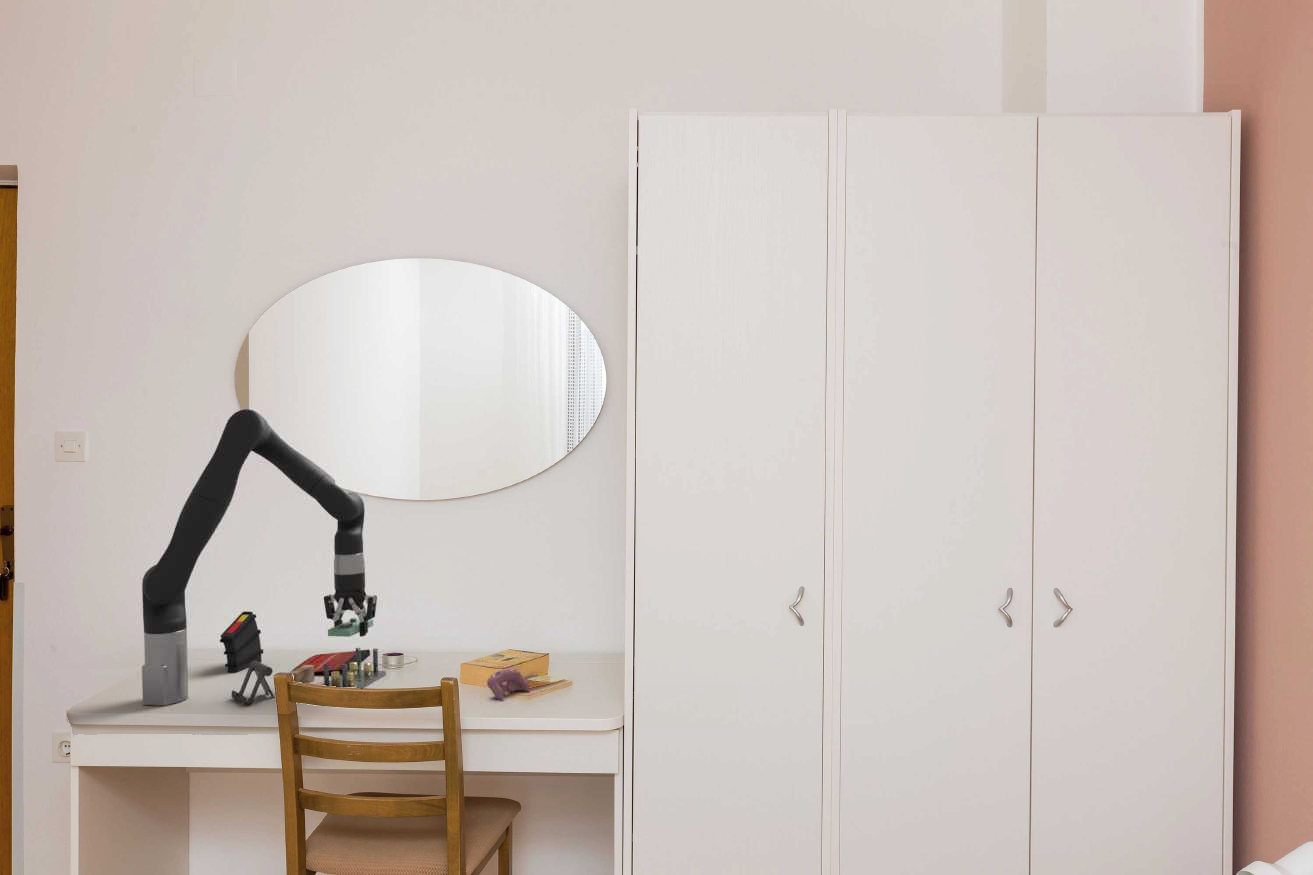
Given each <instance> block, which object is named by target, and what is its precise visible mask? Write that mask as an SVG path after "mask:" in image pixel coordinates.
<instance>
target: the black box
mask: <svg viewBox="0 0 1313 875" xmlns="http://www.w3.org/2000/svg"><path fill="white" fill-rule="evenodd" d="M256 618H257V614H254V613H253V611H246V610H245V611H242V612H241V613H240V614H239V615H238V616H237V617H236V618H235V619H234V621H232V622H231V624H229V626H228V627H227V628H226V629H225V630H224V631H223V632H222V633H221V634H220V639H219V642H220V643H223V646H224V649H225V651H223V655H226V662H227V663H225V665H224V667H225V668H227V672H228V673H239V672H240V671H243V670H246V669H249V667H250V664H251V663H252V662H253V661H257V662H259V663H261V664H262V654H264V649H262V645H261V638H260V637H261V636H260V634H261V633H262V632H261V629H259V628H258V625H257V624H258V623H257V621H256Z"/></svg>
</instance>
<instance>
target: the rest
mask: <svg viewBox="0 0 1313 875" xmlns="http://www.w3.org/2000/svg"><path fill="white" fill-rule="evenodd" d="M288 673H291V674H293V675H294V681H295V682H302V683H308V684H310V683H312V682H314V681H315V676H314V665H304V666H302V667H300V668H298V669H296V670H294V671H292V670H291V671H289V672H288Z"/></svg>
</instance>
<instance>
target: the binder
mask: <svg viewBox="0 0 1313 875" xmlns="http://www.w3.org/2000/svg"><path fill="white" fill-rule="evenodd" d="M360 655H361V664H362V663H363V662H364V661H365V660H367V658H368V657H370V656H371V649H360ZM351 662H356V650H353V651H342V652H341V651H339V652H330V653H321V654H315V655H312V656H311V657H309V658H307V659H305V660H304V661H303V662H301V663H299V665H297V666H295V667H294V668H293V669H292V670H291V671H294V670H296V669H298V668H300V667H302V666H304V665H314V677H324V664H325V663H329V677H331V672H334V671H339V672H340V675H342V665H343V664H347V672H348V671H350V663H351Z"/></svg>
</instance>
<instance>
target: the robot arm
mask: <svg viewBox="0 0 1313 875" xmlns="http://www.w3.org/2000/svg"><path fill="white" fill-rule="evenodd" d="M251 452H253V453H255V454H256V455H259V456H261V457H262V458H263V459H265V460H267V462H269V463H271V464H272V465H273V466H275V467H276V469H278V470H279V471H280V472H281V473H283V475H284V476H286V477H287V478H288V479H289V480H290V481H291V482H292V483H294V485H296V486H297V487H299V489H301V490H302V491H304V492H305V493H306V494H307V495H309V496H310V497H311V498H313V499H314V500H315V501H316V502H317V503H318V504H319V505H320V506H321V508H323V509H324V510H325V511H326V513H328V514H329V515H330V516H331V517H332V518H334V519H335V520H337V529H336V532H335V535H334V542H333V544H334V545H333V546H334V547H333V548H334V556H333V557H334V558H333V559H334V560H333V575H334V576H333V578H334V579H333V581H334V582H333V583H334V591H335V592H334V594H327V595H325V596H323V603H324V609H325V610H324V611H325V616H326V618H327V619H328V620H332V621H333V627H335V626H338V625H340V624H342V623H344V620H342V619H343V617H344V615H345V613H346V611H352V612H354V614H355V615H356V616H357V617H358V618H357V619H359V620H360V622H359V626H360V632H359V637H361V638H363V637H365V636H366V635H367V634H368V632H369V628H368V620H373V619H375V617H376V612H377V600H378V596H377V595H375V594H374V595H367V593H366V591H365V590H366V566H365V565H366V564H365V556H364V538H363V532H364V531H363V530H364V523H365V502H364V499H363V498H362V497H361V496H360V495H359V494H357V493H355V492H346V491H345V490H344V489H343V488H341V487H340V486H339V485H338V484H336V481H335V478H333V477H332V476H331V475H330V474H329V473H327V472H326V471H325V470H324V469H322V468H321V467H320V466H319V465H318V464H316V463H315V462H313V461H312V460H311V459H309V458H308V457H306V456H305V455H304V454H301V452H299V451H297V450H296V449H294V447H292V446H290V445H289V444H288V443H287V442H286V441H285V440H284V439H282V438H281V437H280V435H278V434H277V432H276V431H275V430H274V429H273V428H272V427H271V426H270V424H268V420H266V419H265V418H264V417H263V416H262V415H261V414H260V413H259V412H258V411H255V410H254V409H253V410H252V409H248V408H247V409H246V408H244V409H240V410H238V411H236V412H234V413H233V414H231V416H230V417H229V418H228V420H227V422H226V424H225V426H224V429H223V431H222V434H221V437H220V438H219V441H218V443H217V446H216V448H215V450H214V453H213V455H212V457H211V458H210V460H209V462H208V463H207V464H206V466H205V467H204V469H203V471H202V473H201V475H200V476H199V478H198V479H197V481H196V483H195V485H194V487H193V488H192V490H191V492H190V494H189V495H188V498H187V499H186V501H185V503H184V505H183V507H182V509H181V511H180V514H179V515H178V519H177V522H176V524H175V527H174V531H173V534H172V537H171V539H170V541H169V544H168V545H167V547H166V549H165V551H164V553H163V554H162V555H161V557H160V559H159V560H158V561H157V563H156V564H154V565H153V566H151V567H150V568H148V569H147V571H146V572H145V574H144V575H143V578H142V583H141V589H142V590H141V591H142V621H143V638H144V639H143V640H144V641H143V642H144V643H143V644H144V645H143V646H144V647H143V648H144V653H143V654H144V664H143V665H142V666H141V681H142V683H141V684H142V686H141V687H142V705H145V706H159V707H160V706H161V707H164V706H168V705H171V704H176V703H180V702H182V701H185V700H187V699H188V698H189V672H188V666H189V664H188V633H187V632H188V631H187V630H188V629H187V628H188V626H187V613H186V588H187V586H188V584H189V580H190V579H191V576H192V574H193V573H192V572H193V570H194V568H195V566H196V563H197V562H198V559H199V557H200V556H201V553H202V552H203V550H204V549H205V547H206V546H207V545H208V543H209V541H210V540H211V538H212V536H213V535H214V534H215V532H216V530H217V529H218V526H219V525H220V523H221V521H222V520H223V518H224V516H225V515H226V512H227V511H228V509H229V507H230V505H231V502H232V500H233V497H234V495H235V491H236V487H237V485H238V480H239V475H240V473H241V471H242V467H243V465H244V464H245V462H246V460H247V459H248V456H250V453H251ZM335 602H336V603H337V606H336V608H335ZM364 603H366V604H367V606H365V604H364Z"/></svg>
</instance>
